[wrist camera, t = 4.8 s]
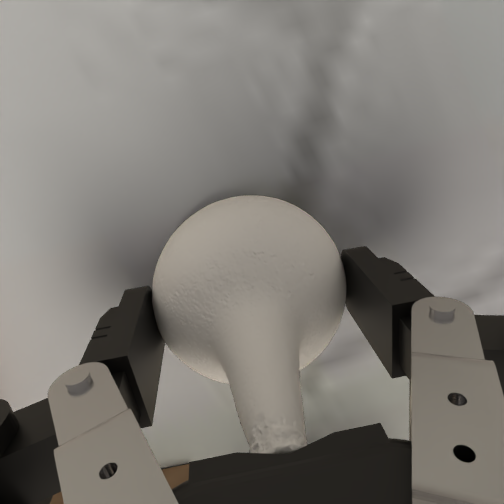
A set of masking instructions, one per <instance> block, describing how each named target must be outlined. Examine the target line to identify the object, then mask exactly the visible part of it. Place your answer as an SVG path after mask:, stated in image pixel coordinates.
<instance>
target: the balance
mask: <svg viewBox="0 0 504 504" xmlns="http://www.w3.org/2000/svg"><path fill="white" fill-rule="evenodd" d="M161 470H162V472H163V474H164V476H165V478H166V480H167V482H168V484H169V486H170V488H171V489H173V488H174V487H176V486H178V485H179V484H181V483H183V482H185V481H187V480H189V464H186V465H181V466H176V467H171V468H166V469H161ZM50 504H64V502H63V497H62V492H59V493H57V494H55V495H53V497H52V500H51V502H50Z"/></svg>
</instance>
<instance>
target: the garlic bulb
mask: <svg viewBox="0 0 504 504" xmlns="http://www.w3.org/2000/svg"><path fill="white" fill-rule="evenodd" d="M345 302H346V276H345V271H344V266H343V263H342V259H341V256H340V253H339V252H338V250H337V247H336V245H335V244H334V242H333V240H332V239H331V237H330V236H329V235H328V233H327V232H326V230H325V229H324V228H323V227H322V226H321V225H320V223H318V222H317V221H316V220H315V219H314V218H313V217H312V216H311V215H309V214H308V213H306V212H305V211H303V210H302V209H300V208H299V207H296V206H295V205H293V204H290V203H288V202H286V201H283V200H280V199H277V198H272V197H267V196H256V195H249V196H248V195H247V196H246V195H245V196H236V197H231V198H227V199H224V200H220V201H217V202H214V203H212V204H210V205H208V206H206V207H204V208H202V209H200V210H199V211H197V212H196V213H195V214H193V215H191V216H190V217H189V218H188V219H187V220H186V221H184V222H183V223H182V224H181V225H180V226H179V227H178V229H177V230H176V231H175V232H174V233H173V234H172V236H171V237H170V239H169V240H168V242H167V243H166V245H165V247H164V249H163V250H162V253H161V255H160V257H159V260H158V262H157V265H156V269H155V273H154V276H153V284H152V305H153V310H154V315H155V319H156V322H157V326H158V329H159V332H160V334H161V336H162V338H163V339H164V341H165V343H166V344H167V346H168V347H169V348H170V349H171V351H172V352H173V353H174V354H175V355H176V356H177V357H178V358H179V359H180V360H181V361H182V362H183V363H185V364H186V365H187V366H188V367H190V368H191V369H192V370H194V371H196V372H197V373H199V374H201V375H203V376H205V377H208V378H210V379H212V380H215V381H218V382H223V383H228V384H230V388H231V391H232V394H233V397H234V401H235V406H236V409H237V412H238V417H239V419H240V423H241V425H242V428H243V431H244V433H245V436H246V438H247V440H248V444H249V445H250V451H249V453H269V454H288V453H291V452H294V451H296V450H298V449H300V448H302V447H305V446H307V442H306V440H307V438H306V432H305V422H304V411H303V402H302V394H301V386H300V370H301V369H303V368H304V367H306V366H307V365H308V364H310V363H311V362H312V361H313V360H314V359H316V358H317V357H318V356H319V355H320V354H321V352H322V351H323V350H324V349H325V348H326V347H327V345H328V344H329V342H330V341H331V340H332V338H333V336H334V335H335V333H336V331H337V329H338V327H339V324H340V321H341V318H342V315H343V312H344V307H345Z"/></svg>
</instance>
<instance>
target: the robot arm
mask: <svg viewBox="0 0 504 504" xmlns="http://www.w3.org/2000/svg"><path fill="white" fill-rule="evenodd" d="M341 259H342V263H343V266H344V271H345V276H346V302H345V303H346V306H347V309H348V311H349V312H350V314H351V315H352V317H353V319H354V320H355V322H356V323H357V325H358V326H359V328H360V329H361V331H362V333H363V334H364V336H365V337H366V339H367V340H368V342H369V343H370V345H371V347H372V348H373V350H374V351H375V353H376V354H377V356H378V357H379V359H380V361H381V362H382V364H383V365H384V367H385V368H386V370H387V371H388V373H389V374H390V376H391V378H397V377H402V376H407V377H408V378H409V380H410V390H409V441H407V440H400V439H390V438H388V437H387V435H386V433H385V431H384V429H383V427H382V425H381V423H378V424H373V425H368V426H363V427H358V428H354V429H349V430H344V431H339V432H334V433H332V434H330V435H328V436H326V437H324V438H321V439H319V440H317V441H315V442H313V443H311V444H309V445H307V446H305V447H302V448H300V449H298V450H296V451H294V452H291V453H288V454H269V453H232V454H228V455H223V456H218V457H213V458H208V459H203V460H198V461H194V462H189V480H187V481H185V482H183V483H181V484H179V485H178V486H176V487H174V488H173V489H171V488H170V486H169V484H168V482H167V480H166V478H165V476H164V474H163V472H162V470H161V468H160V466H159V464H158V462H157V460H156V458H155V456H154V454H153V452H152V450H151V448H150V446H149V444H148V442H147V440H146V438H145V436H144V434H143V432H142V430H141V428H144V427H149V426H152V423H153V417H154V410H155V404H156V397H157V391H158V384H159V378H160V372H161V365H162V359H163V352H164V346H165V341H164V339H163V338H162V336H161V334H160V332H159V329H158V326H157V322H156V319H155V315H154V310H153V305H152V289H151V288H150V286H144V287H139V288H134V289H128V290H125V292H124V294H123V297H122V299H121V302H120V304H119V307H114V308H110V309H109V310H108V311H107V312H106V313H105V314H104V315H103V316H102V317H101V318H100V320H99V322H98V324H97V326H96V331H94V333H93V335H92V337H91V338H92V340H90V342H89V344H88V346H87V349H86V351H85V353H84V355H83V357H82V360H81V362H80V364H79V365H78V366H76V367H73V368H71V369H69V370H68V371H66V372H65V373H63V374H62V375H60V376H59V377H58V378H57V379H56V380H55V381H54V382H53V383H52V385H51V386H50V388H49V390H48V398H46V399H44V400H42V401H40V402H37V403H35V404H32V405H30V406H27V407H25V408H23V409H20V410H18V411H15V412H13V411H12V409H11V407H10V405H9V403H8V402H7V401H5V400H2V399H0V504H50V502H51V500H52V497H53V495H55V494H57V493H59V492H62V497H63V502H64V504H504V316H496V315H474V313H473V311H472V309H471V308H470V307H469V306H468V305H466V304H465V303H463V302H461V301H458V300H455V299H452V298H447V297H435V296H434V295H433V294H432V293H431V292H429V291H428V290H427V289H426V288H425V287H424V286H423V285H422V284H421V283H419V282H418V281H417V280H416V279H414V277H413V276H412V275H411V274H410V273H408V272H407V271H406V270H405V269H404V268H403V267H402V266H401V265H400V264H399V263H397V262H394V261H392V260H390V259H387V258H385V257H384V258H377V257H376V256H375V255H374V254H373V253H372V252H371V251H370V250H369V249H368V248H367V247H366V246H363V247H357V248H352V249H347V250H343V251H342V253H341Z"/></svg>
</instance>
